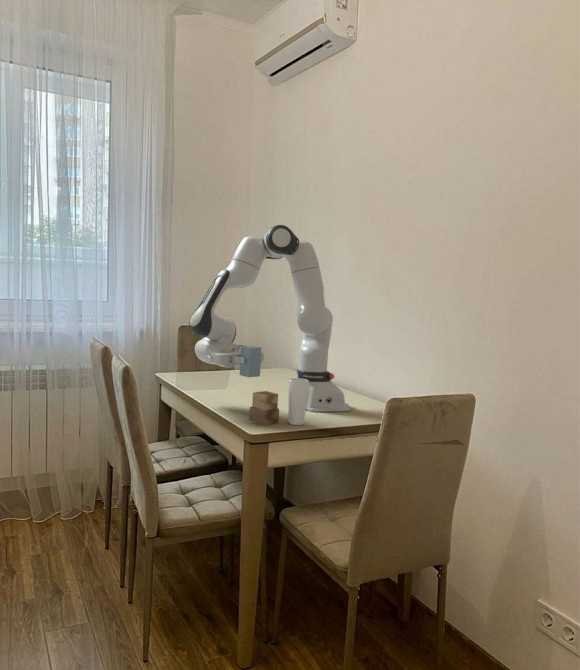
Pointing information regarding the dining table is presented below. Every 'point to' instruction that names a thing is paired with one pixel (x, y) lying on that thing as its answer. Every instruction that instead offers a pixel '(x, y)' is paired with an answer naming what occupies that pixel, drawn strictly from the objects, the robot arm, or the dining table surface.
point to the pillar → (251, 361)
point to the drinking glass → (297, 400)
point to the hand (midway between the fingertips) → (252, 360)
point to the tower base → (264, 416)
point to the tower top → (265, 400)
